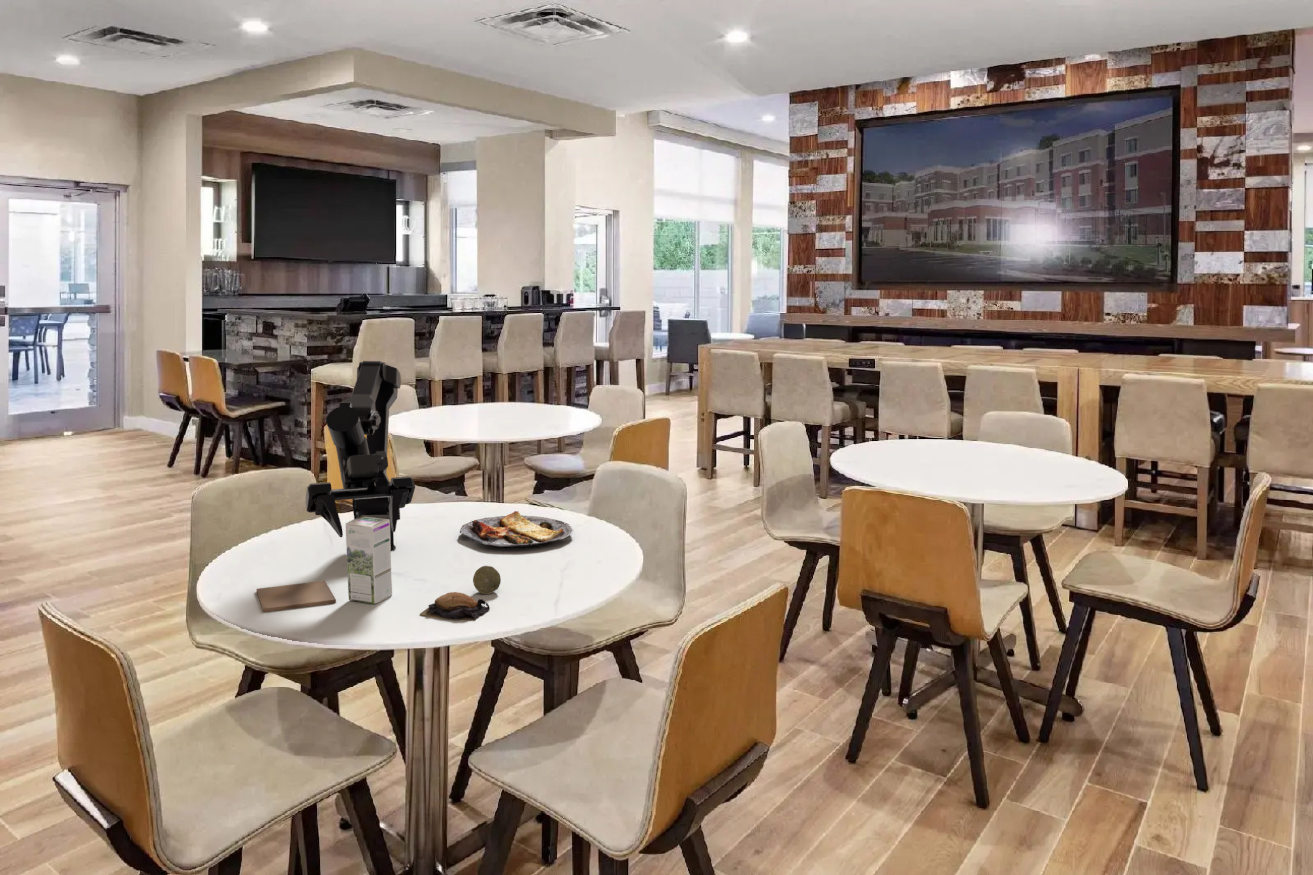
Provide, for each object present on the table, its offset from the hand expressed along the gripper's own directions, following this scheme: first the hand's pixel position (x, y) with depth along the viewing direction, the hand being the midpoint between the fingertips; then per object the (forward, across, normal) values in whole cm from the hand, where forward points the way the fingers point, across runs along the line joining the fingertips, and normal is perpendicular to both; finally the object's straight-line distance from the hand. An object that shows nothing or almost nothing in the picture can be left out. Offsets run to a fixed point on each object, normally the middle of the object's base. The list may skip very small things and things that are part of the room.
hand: (368, 533), depth 175 cm
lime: (+12, +20, +5) cm, 24 cm away
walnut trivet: (+4, -12, +13) cm, 18 cm away
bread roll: (+18, +12, 0) cm, 22 cm away
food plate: (-13, +38, +30) cm, 50 cm away
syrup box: (+9, 0, +9) cm, 12 cm away
